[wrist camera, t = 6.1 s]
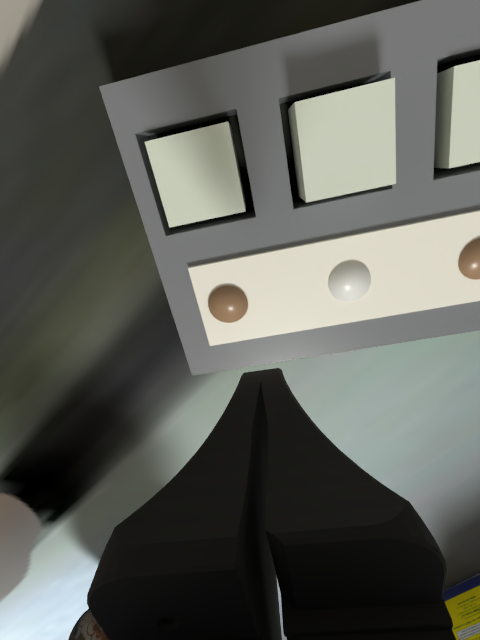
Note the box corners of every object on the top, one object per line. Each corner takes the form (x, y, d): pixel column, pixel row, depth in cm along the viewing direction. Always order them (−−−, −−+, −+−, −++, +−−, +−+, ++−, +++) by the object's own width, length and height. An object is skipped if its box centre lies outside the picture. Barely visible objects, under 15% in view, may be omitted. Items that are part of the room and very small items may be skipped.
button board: (552, -21, 13) (609, -53, 11) (506, 305, 19) (538, 324, 17) (117, 94, 15) (95, 84, 13) (197, 356, 21) (191, 378, 19)
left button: (231, 126, 16) (228, 121, 13) (246, 204, 17) (245, 211, 15) (158, 143, 16) (144, 141, 14) (179, 218, 18) (169, 227, 15)
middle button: (372, 89, 14) (395, 77, 12) (375, 179, 15) (396, 183, 13) (287, 109, 14) (294, 102, 12) (298, 196, 16) (306, 202, 14)
